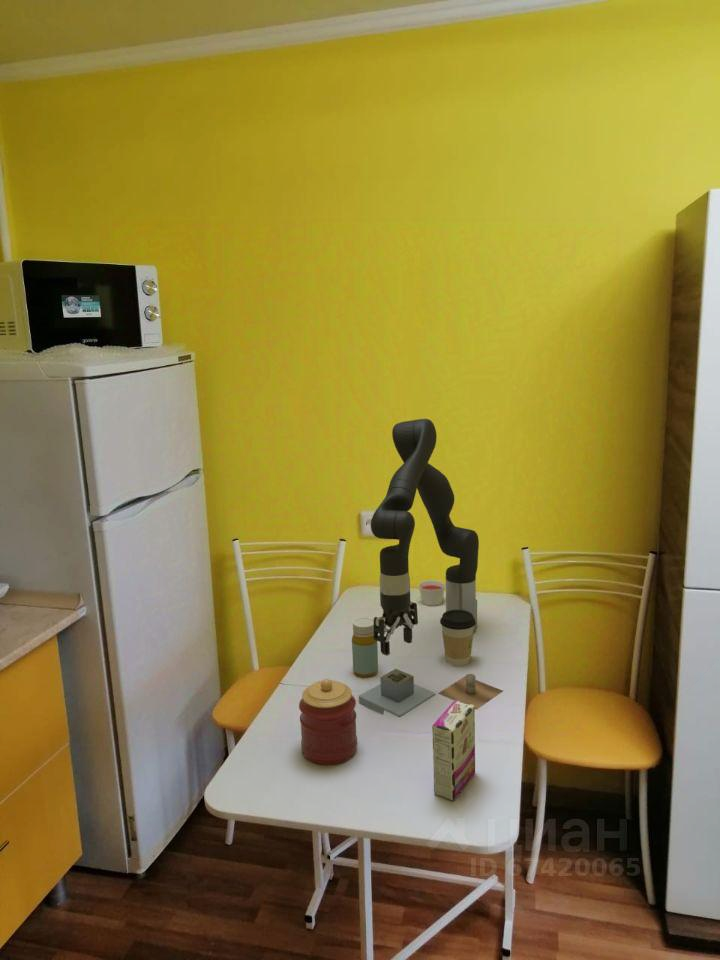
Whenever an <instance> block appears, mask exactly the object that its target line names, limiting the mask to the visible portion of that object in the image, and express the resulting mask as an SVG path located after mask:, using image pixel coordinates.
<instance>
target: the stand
mask: <svg viewBox="0 0 720 960" xmlns="http://www.w3.org/2000/svg"><path fill="white" fill-rule="evenodd" d="M503 692H504V690H502V689H500V688H497V687H494V686H492V685H490V684H487V683H485V682H483V681H480V680H477V679H476V675H475V674H473V673H468V674H466V675H464V676H463V677H462V678H460V679H458V680H457V681H455V682H454V683H452V684H451V685H449V686H447V687H445V688H444V689H443V690H440V691H439V692H438V693H437V694H438V695H441V696H443V697H445V698H448V699H450V700H452V701H454V700H457V701H460V702H464V703H468V704H472V705H474V710H475V711H477V710H479V709H480V708H481V707H482V706H484V705H485V704H487V703H489V702H490V701H491V700H493V699H494V698H496V697H497V696H498V695H501V693H503Z"/></svg>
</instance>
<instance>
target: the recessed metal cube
mask: <svg viewBox="0 0 720 960" xmlns="http://www.w3.org/2000/svg"><path fill="white" fill-rule="evenodd" d="M395 671H398V672H400V673H402V676H404V678H403V679H401V680H400V681H398V682H397V681H395V680H393V679H390V677H391V676H392V673H393V672H395ZM414 679H415V678H414V675H412V674H409V673H407V672H405V671H402V670H401V669H398V668H395V669H393V670H391V671H389V672H387V673H386V674H383V675H382V676H380V684H381V695H382V696H384V697H386V698H389V699H391V700H393V701H395V702H397V703H400V702H401V701H403V700H404V699H406V698H408V697H409V696H411V695H413V694H414V684H415V680H414Z"/></svg>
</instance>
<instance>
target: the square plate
mask: <svg viewBox="0 0 720 960" xmlns="http://www.w3.org/2000/svg"><path fill="white" fill-rule="evenodd" d="M403 678H404V676H402V673H400V672H398V671H395V672H393V673H392V676H391V677H390V679H393V680H395V681H397V682H398V681H400V680H401V679H403ZM436 694H437V693H436V692H434V691H432V690H429V689H427V688H425V687H422V686H420V685H417V684H415V683H414V694H413V695H411V696H409V697H408V698H406V699H404V700H403V701H401V702H400V703H397V702H395V701H393V700H391V699H389V698H386V697H384V696H382V695H381V683H379V684H378V685H376V686H374V687H372V688H370V689H369V690H367V691H365V692H363V693H361V694H359V695H358V704H360V705H363V706H364V707H366V708H368V709H371V710H372V711H374V712H376V713H378V714H380V715H384V714H385V712H388V713H390V714H392V715H394V716H396V717H398V718H401V717H403V716H405V715H406V714H407V713H410V712H411V711H412V710H414V709H416V708H417V707H419V706H421V705H422V704H423V703H426V701H429V700H430V699H432V698H433V697H434V696H436Z"/></svg>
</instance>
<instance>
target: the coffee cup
mask: <svg viewBox="0 0 720 960" xmlns="http://www.w3.org/2000/svg"><path fill="white" fill-rule="evenodd" d="M439 623H440V625H441V628H442V629H441V630H442V631H441V632H442V633H441V634H442V640H443V648H444V655H445V659H446V663H448V664H449V665H451V666H455V667H458V666H459V667H461V666H466V665H468V664H469V663H470V660H471V659H470V658H471V656H472V655H471V654H472V649H473V641H474V640H473V639H474V634H475V633H474V632H473V628H474V625H475V624H476V622H475V619H474V617H473V615H472V613H470V612H468V611H465V610H450V611H447V612H446V611H444V612H443V613H442V615H441V617H440V621H439Z"/></svg>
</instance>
